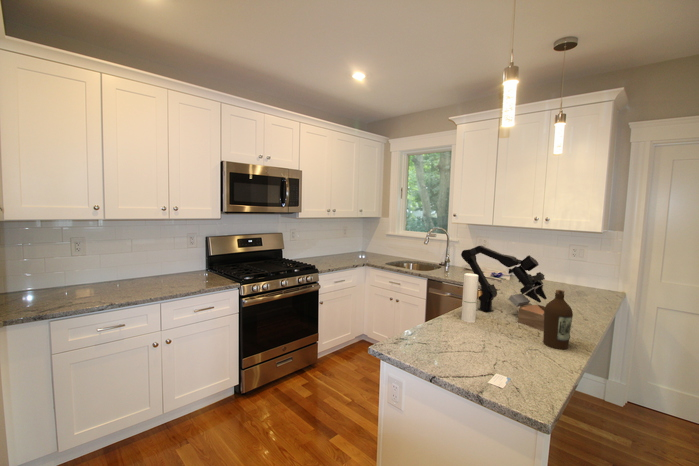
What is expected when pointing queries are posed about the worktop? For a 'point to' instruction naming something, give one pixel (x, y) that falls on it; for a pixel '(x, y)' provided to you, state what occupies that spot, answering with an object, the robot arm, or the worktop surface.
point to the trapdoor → (525, 303)
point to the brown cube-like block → (526, 305)
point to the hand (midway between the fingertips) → (543, 300)
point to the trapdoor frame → (531, 318)
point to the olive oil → (557, 322)
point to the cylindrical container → (469, 297)
